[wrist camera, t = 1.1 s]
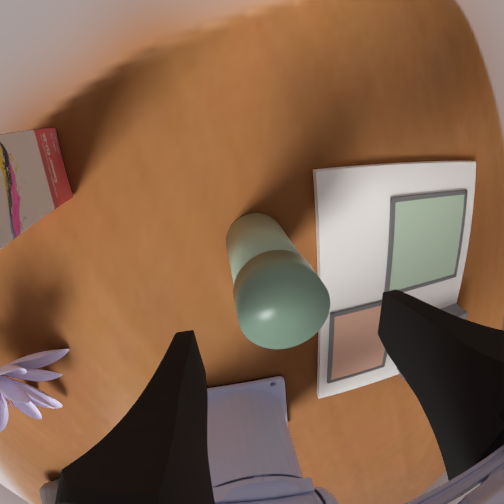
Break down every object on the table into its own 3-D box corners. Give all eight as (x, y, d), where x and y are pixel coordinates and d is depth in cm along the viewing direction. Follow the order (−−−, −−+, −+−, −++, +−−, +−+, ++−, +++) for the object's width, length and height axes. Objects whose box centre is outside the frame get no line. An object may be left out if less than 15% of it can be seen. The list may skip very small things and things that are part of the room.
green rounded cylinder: (229, 272, 20) (244, 356, 13) (220, 216, 19) (231, 280, 11) (286, 262, 21) (329, 338, 13) (282, 206, 19) (330, 262, 12)
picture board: (316, 394, 27) (324, 413, 24) (312, 169, 18) (327, 176, 16) (437, 353, 28) (449, 367, 26) (471, 160, 20) (491, 166, 17)
